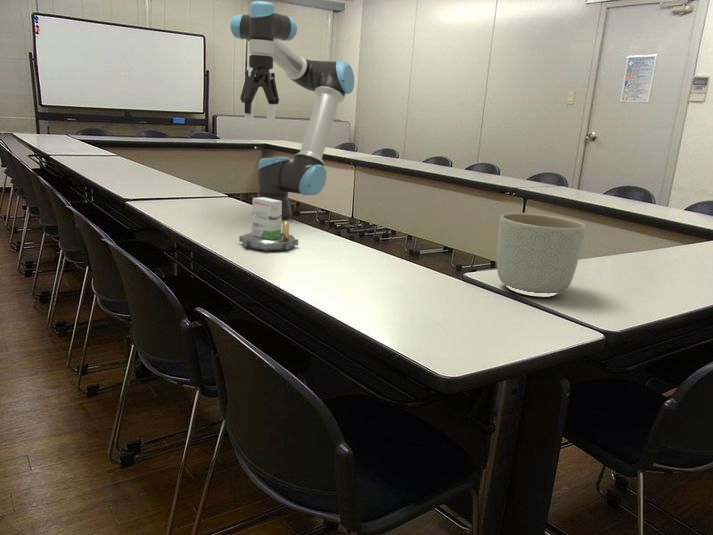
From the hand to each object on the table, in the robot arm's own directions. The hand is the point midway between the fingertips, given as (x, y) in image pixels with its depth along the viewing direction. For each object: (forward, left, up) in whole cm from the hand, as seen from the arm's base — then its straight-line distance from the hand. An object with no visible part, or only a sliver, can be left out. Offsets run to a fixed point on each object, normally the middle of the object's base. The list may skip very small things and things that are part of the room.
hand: (260, 124), depth 187 cm
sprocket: (+15, +14, -36) cm, 41 cm away
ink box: (+15, +13, -33) cm, 39 cm away
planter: (+14, +93, -36) cm, 101 cm away
